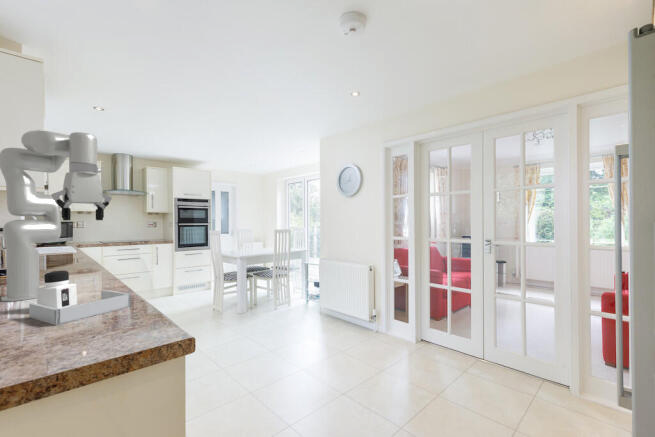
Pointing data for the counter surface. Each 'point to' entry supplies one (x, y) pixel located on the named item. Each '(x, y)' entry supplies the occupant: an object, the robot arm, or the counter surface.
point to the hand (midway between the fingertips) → (83, 220)
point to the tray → (80, 308)
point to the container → (57, 291)
